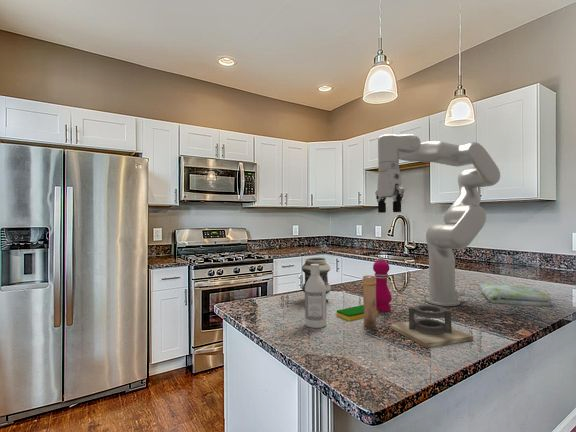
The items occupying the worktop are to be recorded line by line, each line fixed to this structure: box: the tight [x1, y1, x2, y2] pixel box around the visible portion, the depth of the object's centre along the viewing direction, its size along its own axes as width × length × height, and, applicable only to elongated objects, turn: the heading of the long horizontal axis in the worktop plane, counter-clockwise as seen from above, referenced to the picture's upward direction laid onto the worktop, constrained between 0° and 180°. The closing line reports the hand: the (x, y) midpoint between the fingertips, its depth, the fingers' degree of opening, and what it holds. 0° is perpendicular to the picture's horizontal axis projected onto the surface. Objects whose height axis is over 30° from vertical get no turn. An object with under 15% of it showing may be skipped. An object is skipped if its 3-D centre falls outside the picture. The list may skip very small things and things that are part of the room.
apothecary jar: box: [301, 257, 332, 304], centre depth 136 cm, size 12×12×18 cm
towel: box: [478, 282, 553, 307], centre depth 134 cm, size 18×21×5 cm
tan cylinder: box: [362, 275, 378, 329], centre depth 105 cm, size 4×4×16 cm
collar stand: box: [390, 304, 474, 349], centre depth 97 cm, size 16×16×8 cm
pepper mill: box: [372, 256, 393, 312], centre depth 123 cm, size 7×7×20 cm
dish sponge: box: [336, 304, 379, 322], centre depth 117 cm, size 7×14×2 cm, turn 120°
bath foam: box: [304, 264, 327, 329], centre depth 107 cm, size 7×7×20 cm
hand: (389, 212), depth 124 cm, fingers open, 9 cm apart
